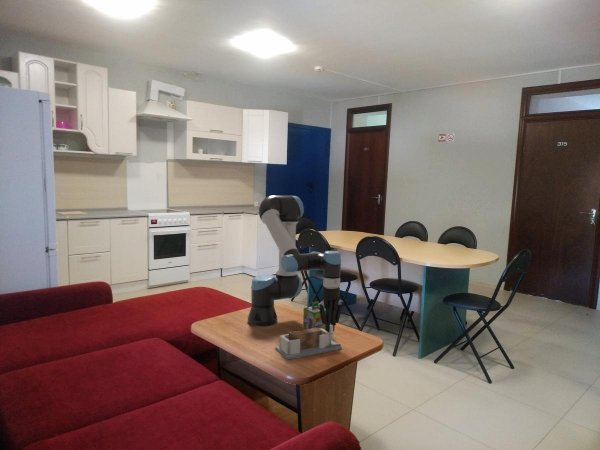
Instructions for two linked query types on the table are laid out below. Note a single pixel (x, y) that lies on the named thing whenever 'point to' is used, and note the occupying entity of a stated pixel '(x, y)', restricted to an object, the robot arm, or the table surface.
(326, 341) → the end cap
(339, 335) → the table surface
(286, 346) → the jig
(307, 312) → the chalk box
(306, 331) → the slat
